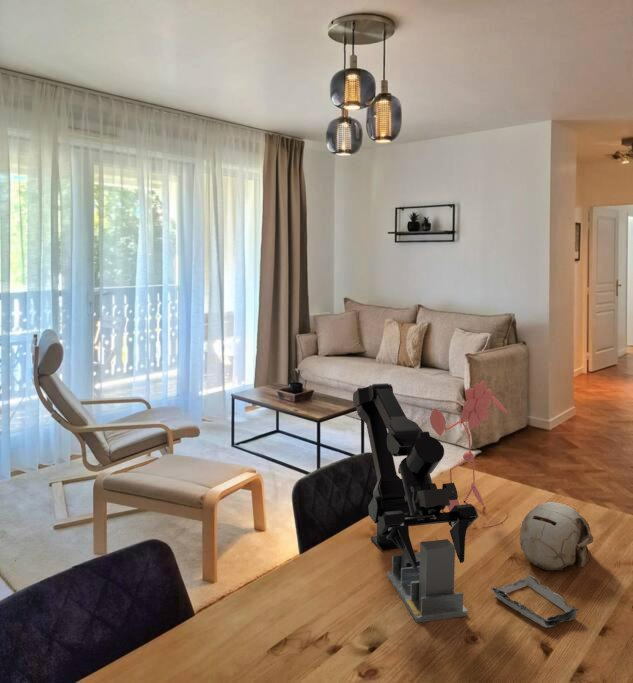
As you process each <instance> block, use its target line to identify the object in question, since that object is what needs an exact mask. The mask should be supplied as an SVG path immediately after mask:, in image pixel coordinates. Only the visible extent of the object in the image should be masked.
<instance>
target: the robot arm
mask: <svg viewBox="0 0 633 683" xmlns="http://www.w3.org/2000/svg"><path fill="white" fill-rule="evenodd" d="M352 403H353V406H354V407H355V408H356V413H357V416H358V417H359V418H360V420H362V421H363V422H364V423H365V425H366V430H367V434H368V440H369V444H370V450H371V454H372V455H371V456H372V460H373V464H374V470H375V474H376V480H377V481H376V484H375V487H374V489H373V492H372V495H373V496H372V499H371V500H370V502H369V504H368V505H367V507H368V508H367V510H368V516H369V517H370V518H371V520H372V521H373V523H374V524H376V535H373V536H372V535H371V536H370V540H371V541H372V542H373V544H375V545H376V546H377V547H378V548H379V549H380V550H381V551H382V552H384V551H389V550H395V549H399V550H400V551H401V553H402V554H404V555H405V557H406V558H407V559H408V561H409V562H410V564H411V565H412V566H413V568H414V569H415V568H417V562H416V557H415V554H414V553H415V551H414V548H413V545H412V541H411V539H410V530H409V527H416V526H426V525H435V524H445V523H448V525H449V526H450V527H451V529H450V530H449V534H450V537H451V540H452V544H453V545H454V546H455V554H456V556H457V559H458V560H459V562H460V564H463V563H464V562H465V552H466V550H465V549H466V535H467V530H468V528H469V527H470V526H471V525H472V524H473V523H474V522H475V521H476V520H477V519H479V513H478V511H477V508H476V507H475V506H474V505H473V504H472V503H466V504H459V505H455V506H454V507H453V508H452V510H451V511H445V512H444V510H445V509H444V508H446V507H447V506H450V500H457V499H458V497H459V496H458V495H459V494H458V490H457V487H456V485H455V482H452V483H450V482H448V483H447V482H446V483H443V484H442V485H441V488H438V486H437V484H436V483H435V482H434V483H433V479H432V477H431V474H432V473H433V472H434V471H435V469H436V468H437V466H438V465H439V464H440V462H441V460H443V458H444V455H445V448H444V445H442V443H441V442H440V441H439V440H438V439H437V438H435V437H433V436H431V435H430V432H429V431H428V430H427V431H423V429H422V427H420V426H419V424H418V423H417V422H416V421H413V420H411V419H410V418H408V417H407V416H406V414H405V412H404V409H403V408H402V406H401V404H400V402H399V401H398V399H397V397H396V395H395V394H394V388H393V385H392V384H391V383H373V384H370V385H368V386H366V387H357V390H356V391H354V392H353V394H352ZM394 457H396V458H397V457H404V458H403V459H402V460H401V461H400V462H399V465H398V470H397V469H396V464H395V461H394ZM398 474H400V476H399V475H398ZM445 506H446V507H445ZM443 509H444V510H443ZM442 510H443V511H442ZM441 511H442V512H441Z"/></svg>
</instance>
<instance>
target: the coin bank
mask: <svg viewBox="0 0 633 683" xmlns="http://www.w3.org/2000/svg"><path fill="white" fill-rule="evenodd" d="M519 532H520V533H519V543H520V548H521V550H522V552H523V553H524V555H525V558H526V559H527V560H528V562H530V563H532V564H533V565H534V566H535V567H537V568H540V569H543V570H544V571H553V572H554V571H562V570H564V568H566V567H568V566H572V565H575V566H576V567H580V568H581V567H584V566H586V565H587V563H589V561H590V560H589V559H590V557H591V556H590V555H591V553H590V549H589V548H588V545H591V544H592V543H593V542H594V536H593V534H592V533H591V527H590V524H589V523H588V521H587V520H586V519H585V517H584V516H583V515H581V514H580V513H579V512H578V511H577V510H576V509H574V508H573V507H572V506H569V505H567V504H564V503H560V502H555V501H548V502H544V503H541V504H538V505H536V506H535V507H534V508H533V509H531V510H530V511H529V512H528V513H527V514H526V515H525V517H524V518H523V520H522V522H521V527H520V530H519Z"/></svg>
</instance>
